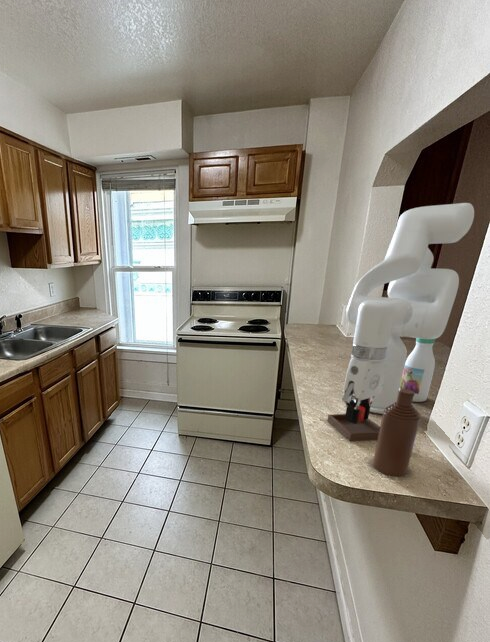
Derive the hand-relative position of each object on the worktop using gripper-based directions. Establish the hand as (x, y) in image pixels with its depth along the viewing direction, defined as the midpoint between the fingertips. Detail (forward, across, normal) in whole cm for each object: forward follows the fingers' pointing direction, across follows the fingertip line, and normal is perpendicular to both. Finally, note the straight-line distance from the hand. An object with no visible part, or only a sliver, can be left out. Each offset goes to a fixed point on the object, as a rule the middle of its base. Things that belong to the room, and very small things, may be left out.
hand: (356, 419), depth 93 cm
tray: (+3, 0, 0) cm, 3 cm away
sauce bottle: (+3, -10, -15) cm, 18 cm away
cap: (0, 0, 0) cm, 0 cm away
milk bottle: (+3, +36, +4) cm, 36 cm away
